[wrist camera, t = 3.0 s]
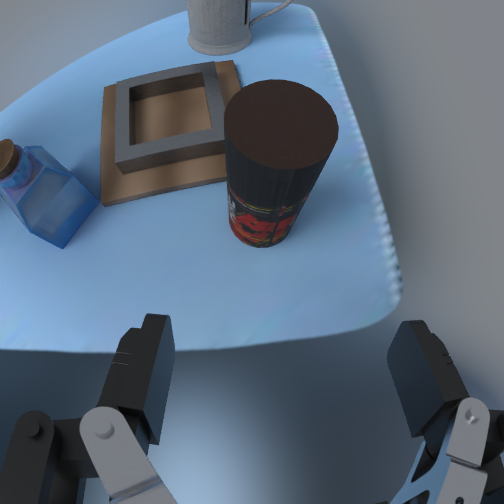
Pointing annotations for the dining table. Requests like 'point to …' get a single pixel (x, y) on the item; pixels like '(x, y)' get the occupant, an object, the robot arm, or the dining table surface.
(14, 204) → the perfume bottle
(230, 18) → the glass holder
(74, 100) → the dining table surface
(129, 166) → the locating plate
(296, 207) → the deodorant
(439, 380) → the robot arm
